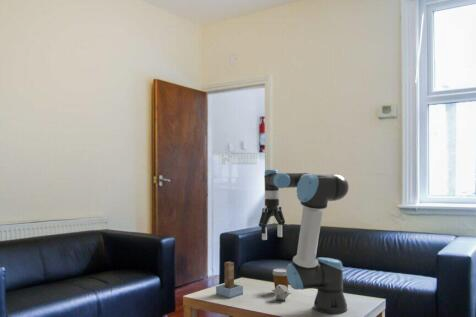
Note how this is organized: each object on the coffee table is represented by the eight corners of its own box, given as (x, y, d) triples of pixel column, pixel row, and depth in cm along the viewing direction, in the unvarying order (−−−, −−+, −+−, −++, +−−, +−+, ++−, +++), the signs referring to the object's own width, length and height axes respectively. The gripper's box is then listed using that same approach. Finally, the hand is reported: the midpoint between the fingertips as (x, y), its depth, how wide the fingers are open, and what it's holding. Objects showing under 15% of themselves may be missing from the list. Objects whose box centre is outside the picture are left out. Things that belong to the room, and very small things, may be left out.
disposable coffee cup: (289, 295, 232) (289, 272, 232) (271, 294, 234) (271, 271, 234) (291, 291, 241) (290, 268, 242) (273, 290, 243) (273, 268, 244)
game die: (285, 307, 225) (296, 290, 225) (278, 305, 218) (290, 288, 218) (272, 295, 230) (283, 279, 230) (265, 293, 223) (277, 277, 224)
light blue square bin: (242, 294, 236) (242, 285, 236) (230, 298, 228) (230, 289, 228) (229, 291, 242) (228, 282, 242) (216, 295, 235) (215, 286, 235)
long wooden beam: (234, 293, 235) (233, 262, 236) (229, 294, 233) (229, 263, 233) (229, 291, 238) (228, 261, 238) (224, 293, 235) (224, 262, 236)
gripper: (280, 197, 252) (280, 235, 251) (251, 199, 234) (252, 240, 233) (291, 197, 247) (291, 236, 247) (262, 199, 229) (263, 241, 228)
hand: (272, 238), depth 240 cm, fingers open, 13 cm apart
